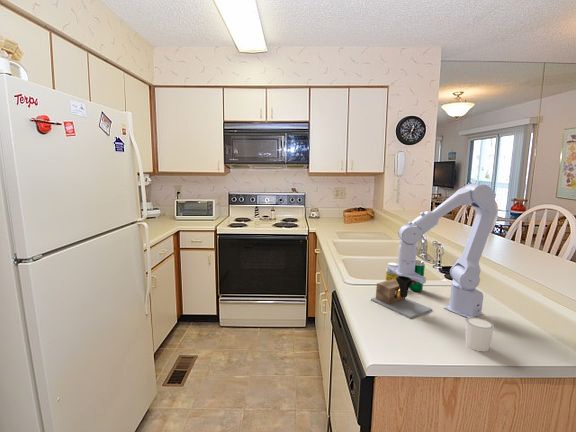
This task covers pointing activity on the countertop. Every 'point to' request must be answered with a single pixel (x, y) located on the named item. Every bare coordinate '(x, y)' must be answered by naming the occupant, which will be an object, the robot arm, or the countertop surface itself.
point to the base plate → (406, 307)
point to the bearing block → (387, 291)
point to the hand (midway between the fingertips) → (403, 296)
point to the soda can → (419, 270)
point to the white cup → (478, 333)
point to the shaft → (398, 294)
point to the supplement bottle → (391, 275)
